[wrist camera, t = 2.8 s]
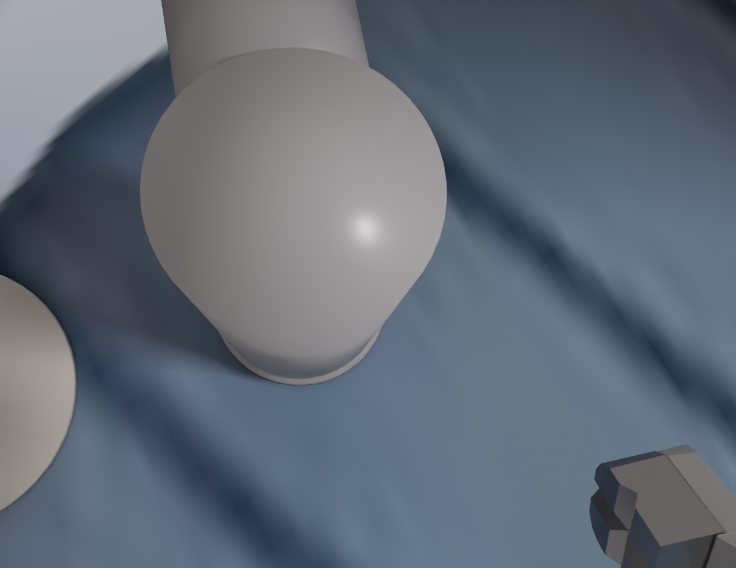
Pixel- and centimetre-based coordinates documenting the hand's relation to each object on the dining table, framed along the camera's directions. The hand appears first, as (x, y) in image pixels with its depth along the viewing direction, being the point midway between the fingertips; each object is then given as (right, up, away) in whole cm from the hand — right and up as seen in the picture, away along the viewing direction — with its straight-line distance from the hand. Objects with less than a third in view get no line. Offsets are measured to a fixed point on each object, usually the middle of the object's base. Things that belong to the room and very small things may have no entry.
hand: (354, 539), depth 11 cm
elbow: (-2, +5, +12) cm, 13 cm away
